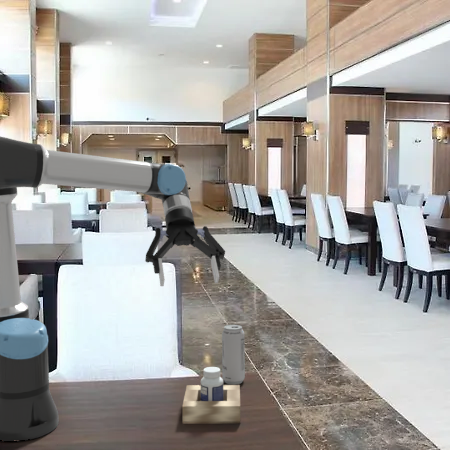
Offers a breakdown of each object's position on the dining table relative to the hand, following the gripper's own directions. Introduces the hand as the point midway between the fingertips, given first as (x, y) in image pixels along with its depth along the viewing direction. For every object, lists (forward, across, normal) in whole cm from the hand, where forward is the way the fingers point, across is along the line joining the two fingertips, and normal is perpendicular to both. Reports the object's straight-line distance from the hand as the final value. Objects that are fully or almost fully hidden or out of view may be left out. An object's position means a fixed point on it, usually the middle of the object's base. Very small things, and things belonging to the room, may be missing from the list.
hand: (190, 281), depth 143 cm
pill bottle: (+27, -3, -14) cm, 31 cm away
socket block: (+27, -3, -15) cm, 31 cm away
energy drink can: (+15, -13, -28) cm, 34 cm away
